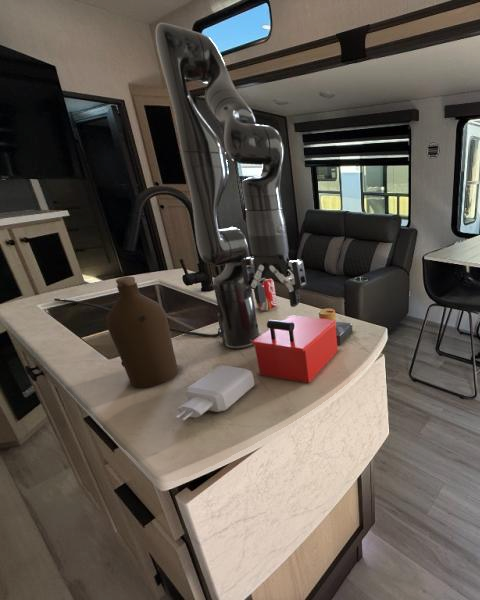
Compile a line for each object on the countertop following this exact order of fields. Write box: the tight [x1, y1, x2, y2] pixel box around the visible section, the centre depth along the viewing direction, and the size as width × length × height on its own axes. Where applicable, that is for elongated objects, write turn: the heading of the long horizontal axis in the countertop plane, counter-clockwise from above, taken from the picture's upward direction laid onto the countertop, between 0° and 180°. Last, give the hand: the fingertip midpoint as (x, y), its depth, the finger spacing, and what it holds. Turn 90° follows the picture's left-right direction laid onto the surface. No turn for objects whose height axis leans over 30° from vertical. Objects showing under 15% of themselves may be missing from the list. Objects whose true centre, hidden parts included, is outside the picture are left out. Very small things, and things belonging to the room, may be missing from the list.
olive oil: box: [106, 276, 179, 389], centre depth 73 cm, size 11×11×25 cm
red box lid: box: [251, 314, 335, 352], centre depth 79 cm, size 16×14×6 cm
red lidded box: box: [254, 323, 339, 384], centre depth 82 cm, size 16×14×9 cm
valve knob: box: [318, 307, 337, 325], centre depth 96 cm, size 5×5×6 cm
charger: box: [174, 364, 255, 421], centre depth 67 cm, size 5×9×15 cm
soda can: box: [255, 279, 278, 312], centre depth 118 cm, size 7×7×12 cm
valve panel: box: [336, 321, 353, 346], centre depth 98 cm, size 12×9×3 cm
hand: (278, 304), depth 72 cm, fingers open, 8 cm apart
